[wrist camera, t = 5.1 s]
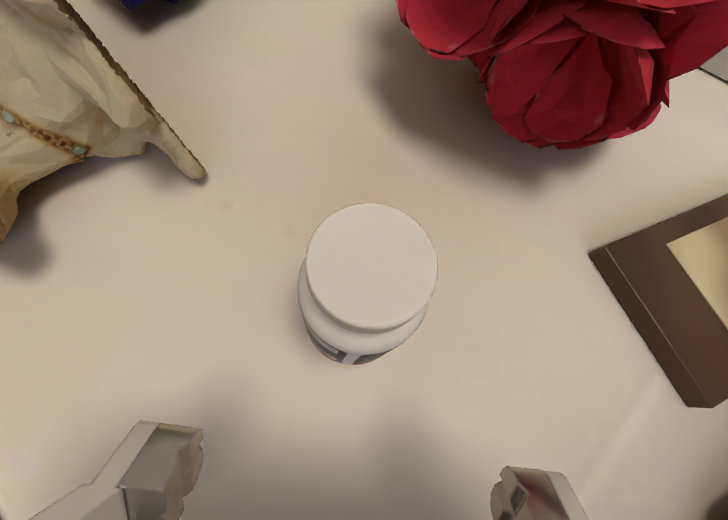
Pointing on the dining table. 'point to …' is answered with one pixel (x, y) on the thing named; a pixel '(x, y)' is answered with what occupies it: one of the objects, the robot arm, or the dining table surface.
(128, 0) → the toy
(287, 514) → the dining table surface
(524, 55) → the bouquet
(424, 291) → the pill bottle
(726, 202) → the board
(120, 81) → the sculpture
